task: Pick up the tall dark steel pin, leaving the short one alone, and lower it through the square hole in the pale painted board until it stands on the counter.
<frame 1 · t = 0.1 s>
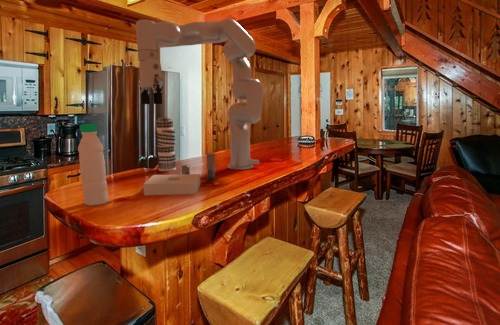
hand: (151, 104, 114), 31 cm above the table, tool pointing down, fingers open, 9 cm apart
short pin: (186, 178, 128), on the table
hole board: (174, 189, 112), on the table
decorative candle: (167, 169, 147), on the table
long pin: (211, 180, 125), on the table
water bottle: (96, 203, 96), on the table
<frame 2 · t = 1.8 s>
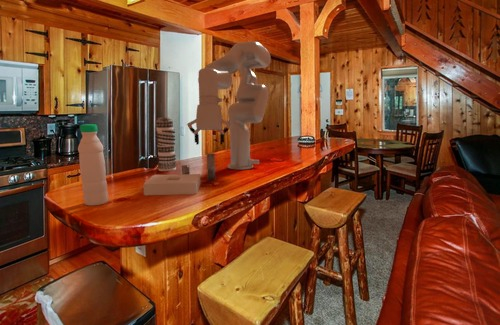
hand: (209, 144, 122), 15 cm above the table, tool pointing down, fingers open, 9 cm apart
nothing on the table moved.
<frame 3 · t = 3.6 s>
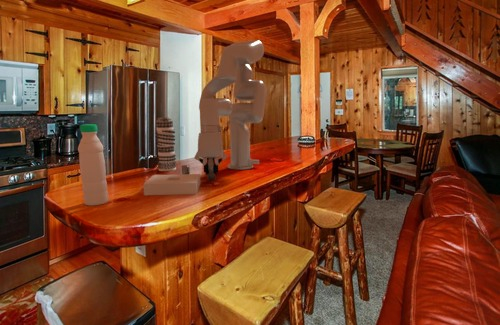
hand: (211, 173, 125), 3 cm above the table, tool pointing down, fingers closed on long pin, 3 cm apart
long pin: (211, 180, 125), on the table, touching gripper
everything else where it was.
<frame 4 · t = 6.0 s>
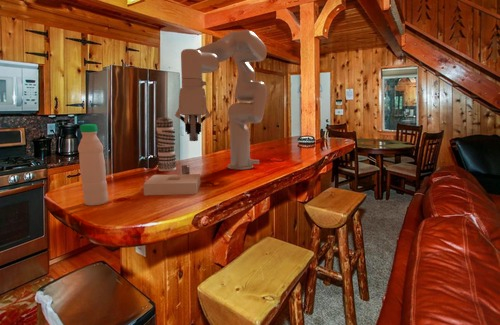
hand: (193, 133, 115), 20 cm above the table, tool pointing down, fingers closed on long pin, 3 cm apart
long pin: (193, 140, 116), point 17 cm above the table, touching gripper
everything else where it was.
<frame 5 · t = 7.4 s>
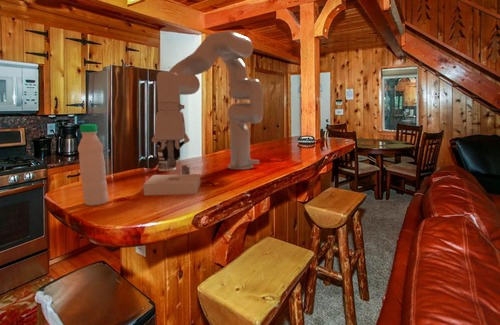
hand: (171, 159, 109), 11 cm above the table, tool pointing down, fingers closed on long pin, 3 cm apart
long pin: (171, 166, 109), point 9 cm above the table, touching gripper
everything else where it was.
when the fingers open (5 cm above the table, at t = 8.5 s): long pin drops 2 cm, resting in hole board.
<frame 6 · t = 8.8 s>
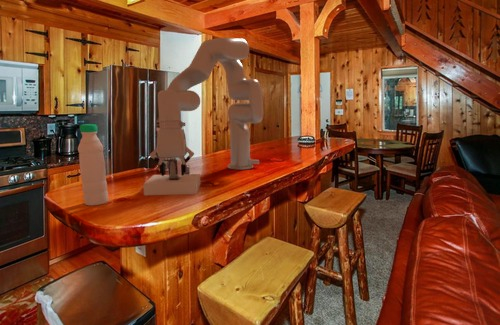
hand: (173, 174, 111), 6 cm above the table, tool pointing down, fingers open, 6 cm apart
long pin: (174, 189, 112), resting in hole board
everything else where it was.
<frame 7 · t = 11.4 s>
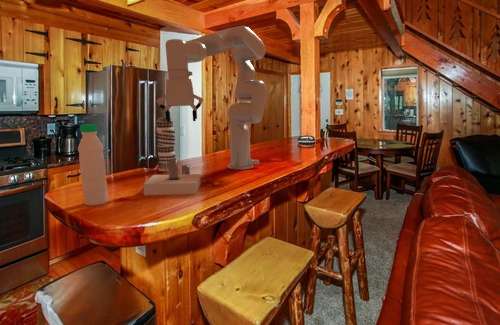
hand: (181, 121, 116), 25 cm above the table, tool pointing down, fingers open, 9 cm apart
nothing on the table moved.
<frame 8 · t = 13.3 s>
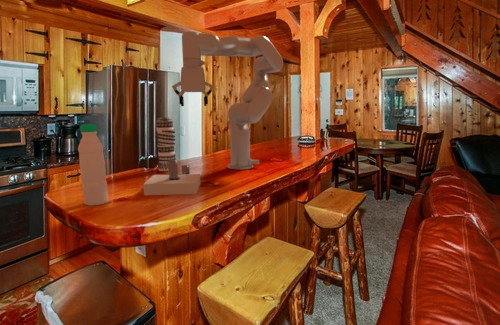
hand: (193, 106, 128), 30 cm above the table, tool pointing down, fingers open, 9 cm apart
nothing on the table moved.
at the end: long pin 0.1 cm off-centre on the hole board, point 0.0 cm above the hole board's base; long pin tilted 0°; short pin moved 0.0 cm from its start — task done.
